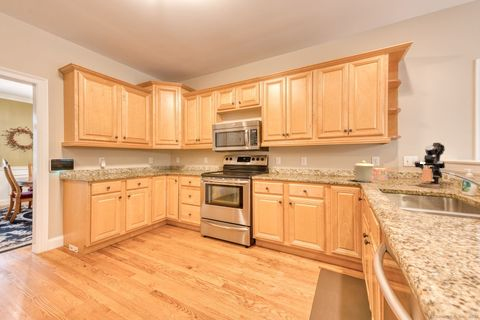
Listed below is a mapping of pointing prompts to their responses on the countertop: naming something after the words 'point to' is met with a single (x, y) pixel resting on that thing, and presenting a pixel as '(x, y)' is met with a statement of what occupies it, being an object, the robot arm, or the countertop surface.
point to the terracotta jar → (427, 175)
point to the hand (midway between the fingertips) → (427, 171)
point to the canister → (363, 172)
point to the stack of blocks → (380, 174)
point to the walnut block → (429, 185)
